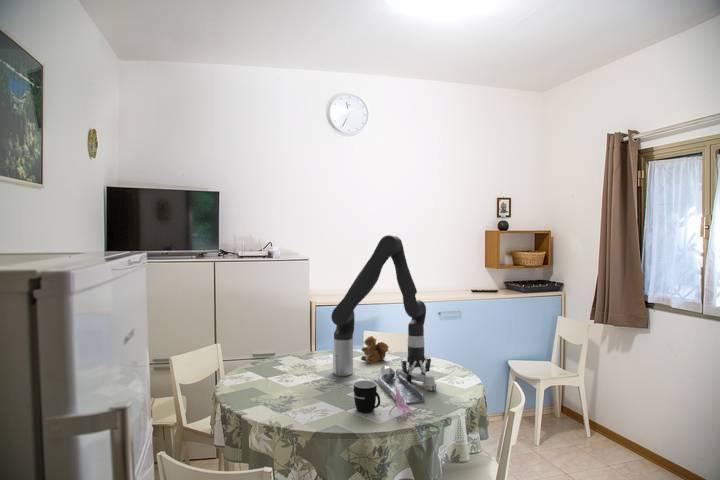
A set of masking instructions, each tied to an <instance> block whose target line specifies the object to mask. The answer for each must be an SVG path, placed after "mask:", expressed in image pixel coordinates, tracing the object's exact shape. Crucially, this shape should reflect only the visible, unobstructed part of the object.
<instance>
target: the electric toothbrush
mask: <svg viewBox="0 0 720 480" xmlns="http://www.w3.org/2000/svg"><path fill="white" fill-rule="evenodd" d="M399 375H401V376H402V377H403V378H404V379H406V380H407V374H405V373H404V372H403V369H402V368H397V369H396V370H395V376H397V377H398V378H399ZM411 381H416V382H419V383H420V382H421V383H422V385H423V388H424V390H425V391H436V390H437V385H438V384H437V382H436V381H435V376H434V375H432V374H431V375H429V374H425V375H423V374H421V373H419V372H415V371H412V373H411Z"/></svg>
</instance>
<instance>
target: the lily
mask: <svg viewBox="0 0 720 480" xmlns="http://www.w3.org/2000/svg"><path fill="white" fill-rule="evenodd" d="M395 390H396V395H395V394H393V393H390V394H391V395H392V396H393V398H394V399H395V400H396V402H395V404H394V406H393V407H392V408H391V410H390V411H389V413H388V415H391V412H392V410H393V409H395V408H397V410H398V411H402V413H403V415H404V417H405V419H406V420H407V419H408V416H407V415H408V414H407V412H409V413H410V414H412V413H413V411H412V409H411V408H410V406H409V404H406V403H405V401H404V397H403V396H401V395H400V392H399V390H398V389H397V387H396V386H395Z"/></svg>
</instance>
